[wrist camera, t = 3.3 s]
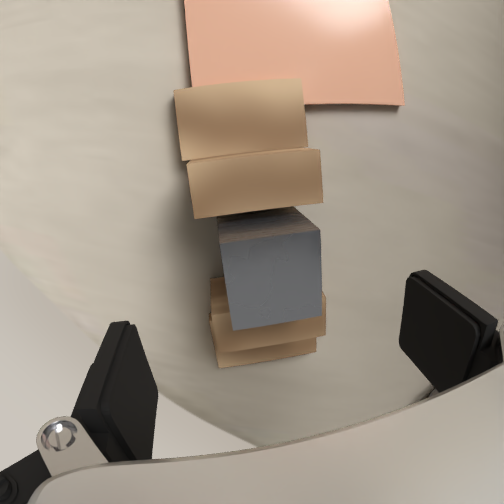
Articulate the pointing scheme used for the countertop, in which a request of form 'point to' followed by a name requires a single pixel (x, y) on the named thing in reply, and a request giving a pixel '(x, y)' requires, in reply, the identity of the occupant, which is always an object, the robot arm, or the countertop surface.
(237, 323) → the metal block
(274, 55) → the terracotta tile
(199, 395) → the countertop surface
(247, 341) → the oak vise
